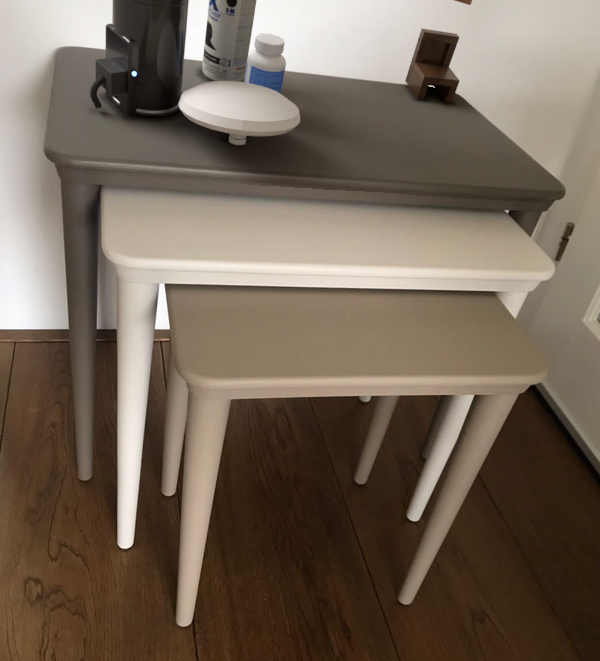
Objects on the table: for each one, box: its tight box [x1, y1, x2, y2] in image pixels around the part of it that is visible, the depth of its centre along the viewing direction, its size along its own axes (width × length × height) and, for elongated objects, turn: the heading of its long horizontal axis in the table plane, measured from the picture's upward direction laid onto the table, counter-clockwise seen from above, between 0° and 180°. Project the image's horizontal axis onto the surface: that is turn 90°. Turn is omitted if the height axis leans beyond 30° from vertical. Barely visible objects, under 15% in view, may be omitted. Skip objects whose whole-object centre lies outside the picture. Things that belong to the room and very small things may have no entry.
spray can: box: [201, 0, 257, 82], centre depth 96 cm, size 7×7×20 cm
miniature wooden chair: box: [404, 28, 460, 104], centre depth 112 cm, size 6×7×9 cm
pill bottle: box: [243, 32, 287, 95], centre depth 94 cm, size 6×5×10 cm
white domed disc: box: [178, 80, 301, 146], centre depth 86 cm, size 16×16×7 cm
